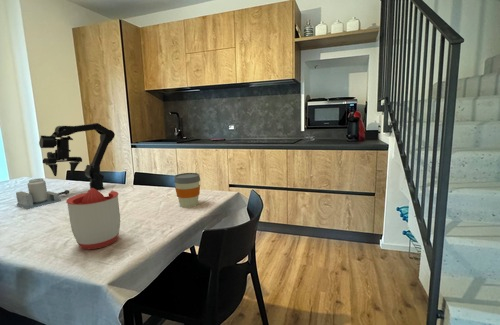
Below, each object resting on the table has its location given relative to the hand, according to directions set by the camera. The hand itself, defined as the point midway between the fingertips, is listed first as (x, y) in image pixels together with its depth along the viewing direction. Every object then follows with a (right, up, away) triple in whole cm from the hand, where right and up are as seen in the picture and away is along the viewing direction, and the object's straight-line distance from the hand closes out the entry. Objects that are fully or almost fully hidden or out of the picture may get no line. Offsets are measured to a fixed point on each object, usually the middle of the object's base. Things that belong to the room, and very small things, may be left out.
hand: (63, 175), depth 153 cm
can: (-6, -14, -10) cm, 18 cm away
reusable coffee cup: (+76, -14, -19) cm, 80 cm away
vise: (-4, -14, -7) cm, 16 cm away
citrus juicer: (+53, -21, -57) cm, 81 cm away
